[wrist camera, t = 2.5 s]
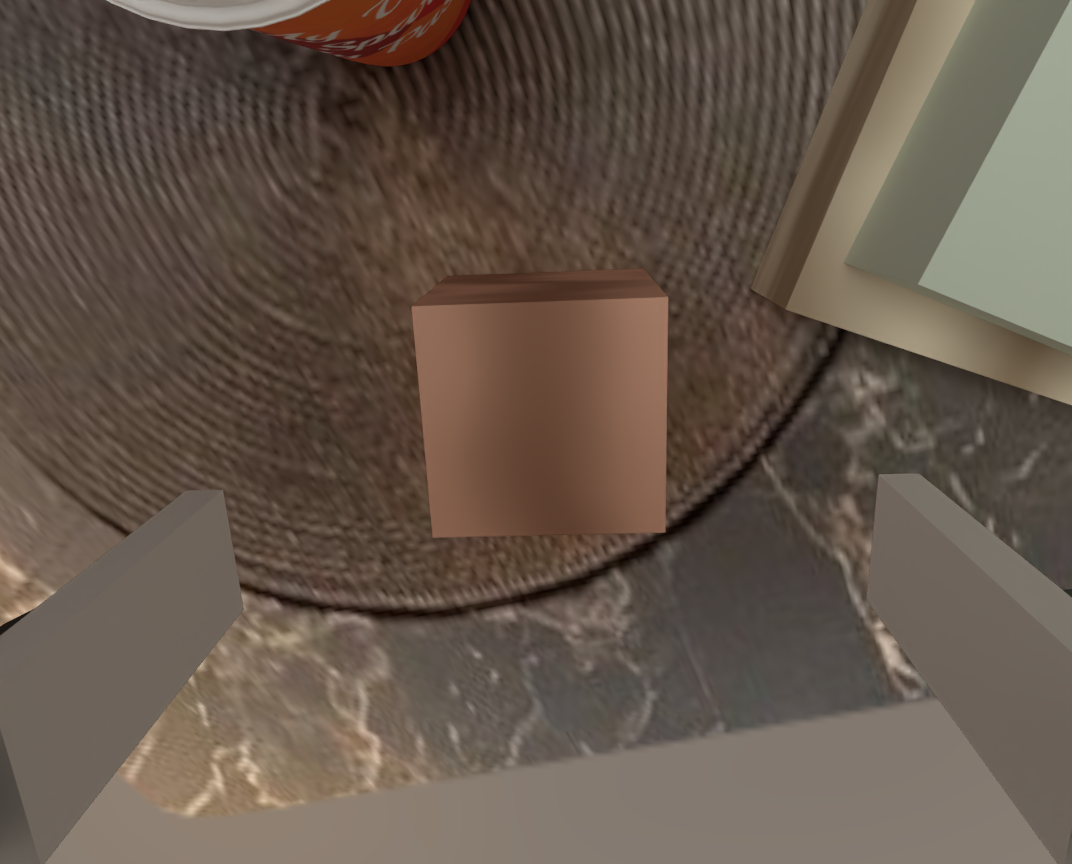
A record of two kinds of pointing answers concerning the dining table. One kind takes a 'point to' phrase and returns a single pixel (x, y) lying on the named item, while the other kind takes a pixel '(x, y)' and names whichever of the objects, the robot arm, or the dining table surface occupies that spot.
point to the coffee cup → (324, 23)
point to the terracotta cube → (544, 403)
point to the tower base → (850, 190)
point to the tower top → (988, 178)
